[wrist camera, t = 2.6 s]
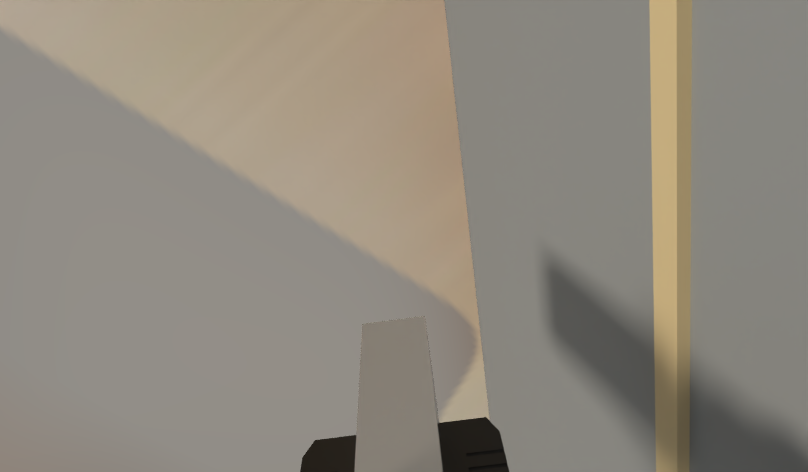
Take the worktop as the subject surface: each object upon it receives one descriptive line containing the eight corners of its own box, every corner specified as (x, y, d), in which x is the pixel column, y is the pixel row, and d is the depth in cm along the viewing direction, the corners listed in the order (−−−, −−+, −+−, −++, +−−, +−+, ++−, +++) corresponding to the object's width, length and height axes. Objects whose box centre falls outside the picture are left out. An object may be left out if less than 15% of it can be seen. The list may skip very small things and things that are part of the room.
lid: (466, -137, 24) (420, -131, 23) (992, -332, 9) (884, -324, 8) (522, 465, 32) (489, 476, 32) (838, 906, 17) (781, 935, 16)
